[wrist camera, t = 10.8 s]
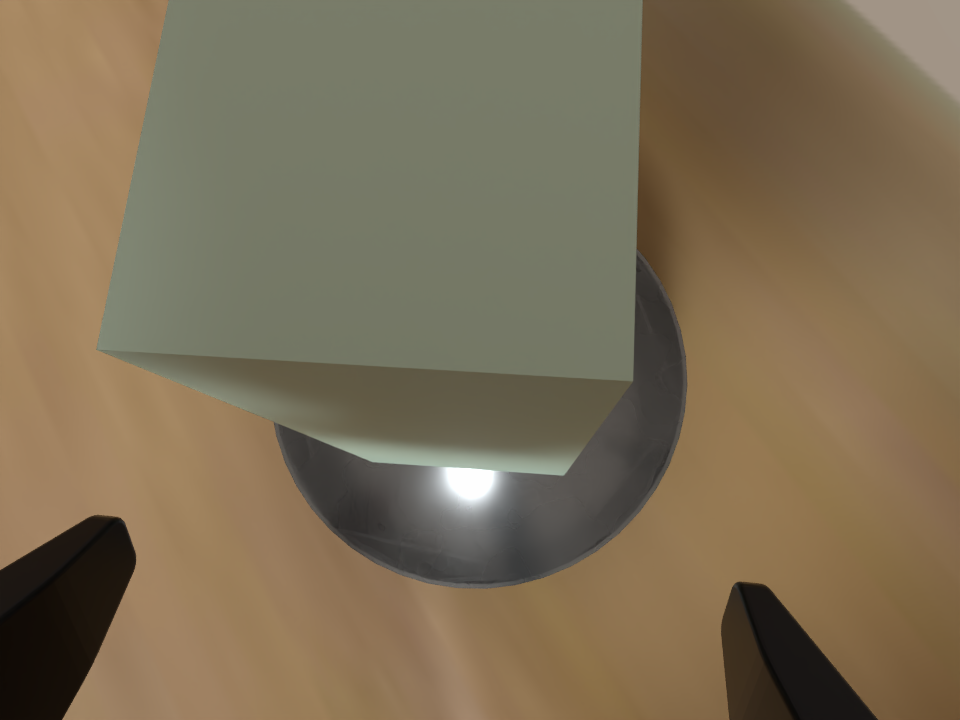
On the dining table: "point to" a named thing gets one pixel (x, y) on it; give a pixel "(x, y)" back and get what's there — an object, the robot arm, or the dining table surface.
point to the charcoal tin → (510, 482)
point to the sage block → (391, 222)
